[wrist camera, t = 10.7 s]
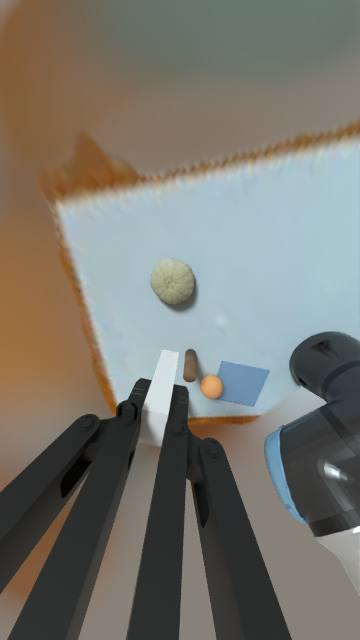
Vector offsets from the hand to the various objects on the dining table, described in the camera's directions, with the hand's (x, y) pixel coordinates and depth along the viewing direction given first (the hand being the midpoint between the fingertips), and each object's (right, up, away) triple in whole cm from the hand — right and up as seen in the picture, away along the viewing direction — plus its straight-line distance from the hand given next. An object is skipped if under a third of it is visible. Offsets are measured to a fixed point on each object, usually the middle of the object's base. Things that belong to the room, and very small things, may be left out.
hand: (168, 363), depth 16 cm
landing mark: (+16, -13, +29) cm, 36 cm away
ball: (+9, -13, +27) cm, 31 cm away
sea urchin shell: (0, +13, +22) cm, 25 cm away
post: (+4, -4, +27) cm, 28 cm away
